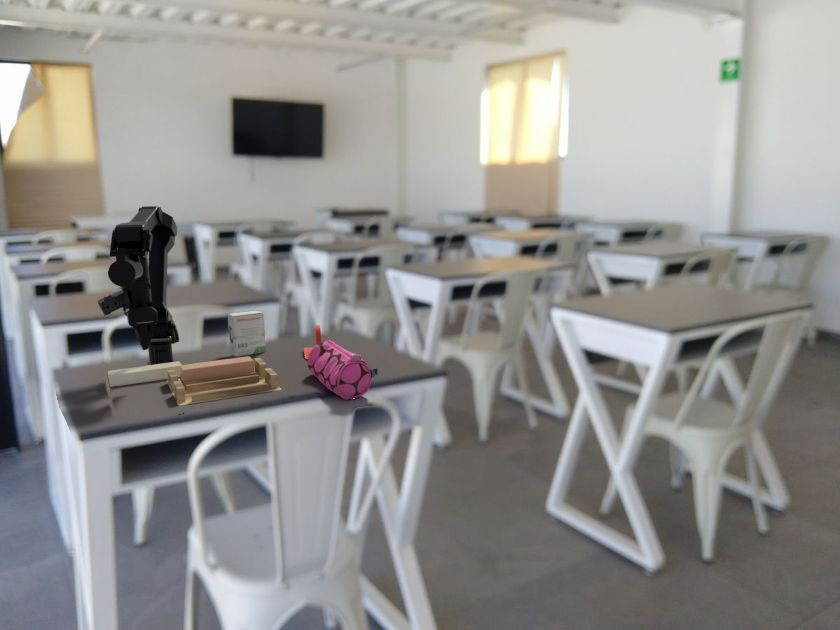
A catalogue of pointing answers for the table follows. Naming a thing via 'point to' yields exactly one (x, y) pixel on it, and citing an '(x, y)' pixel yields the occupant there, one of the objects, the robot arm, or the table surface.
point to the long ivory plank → (142, 373)
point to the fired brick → (216, 369)
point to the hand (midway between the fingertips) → (143, 345)
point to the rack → (224, 385)
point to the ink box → (246, 333)
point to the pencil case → (340, 370)
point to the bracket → (318, 341)
